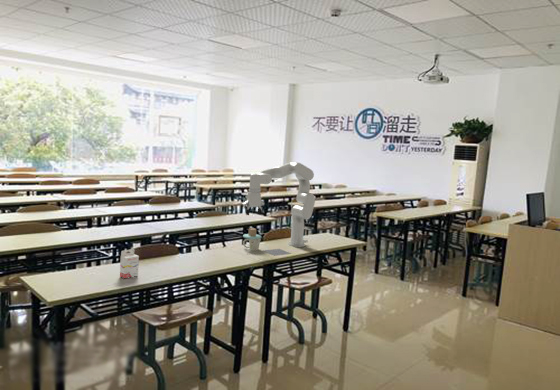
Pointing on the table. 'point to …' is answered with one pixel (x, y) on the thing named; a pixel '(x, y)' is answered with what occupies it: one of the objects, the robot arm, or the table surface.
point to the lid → (252, 234)
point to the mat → (276, 252)
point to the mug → (253, 243)
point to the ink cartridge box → (129, 264)
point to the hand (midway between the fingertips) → (253, 214)
